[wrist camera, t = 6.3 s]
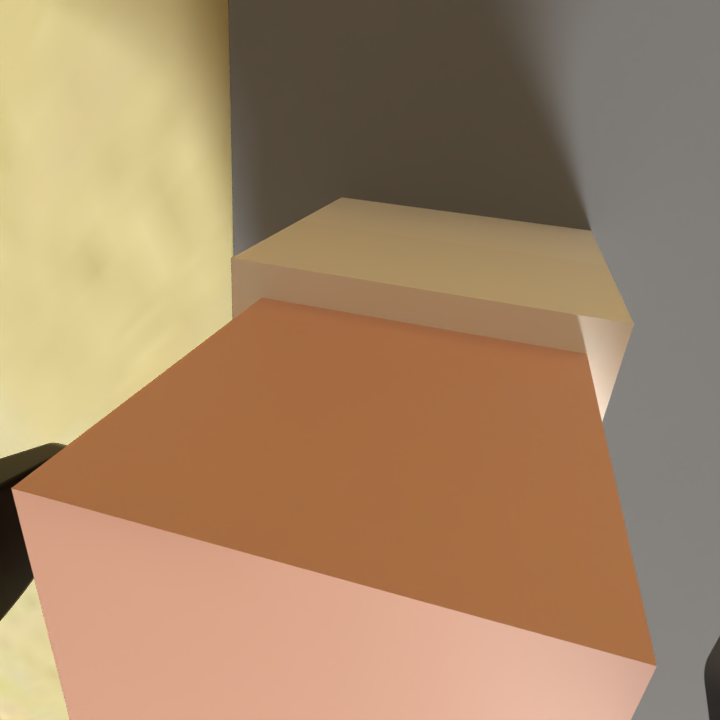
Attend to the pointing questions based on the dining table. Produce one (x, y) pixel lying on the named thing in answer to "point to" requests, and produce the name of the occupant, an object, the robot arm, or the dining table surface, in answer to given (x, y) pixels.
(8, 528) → the robot arm
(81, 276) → the dining table surface
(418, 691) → the cube
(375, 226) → the slab lower
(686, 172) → the placemat
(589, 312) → the slab upper
